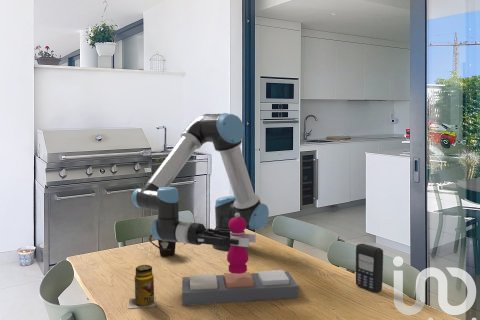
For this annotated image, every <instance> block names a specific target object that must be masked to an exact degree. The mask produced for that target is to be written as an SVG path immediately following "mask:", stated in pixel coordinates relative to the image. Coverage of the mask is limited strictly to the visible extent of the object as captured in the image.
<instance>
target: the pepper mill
mask: <svg viewBox="0 0 480 320" xmlns="http://www.w3.org/2000/svg"><path fill="white" fill-rule="evenodd" d="M229 229H230V230H231V231H230V236H232V237H240V238H244V236H245V233H246V232H245V230H246V229H247V228H246V221H245V220H244V219H243V218H241V217H240V214H239V213H235V217H234V218H232V219H231V220H230V221H229ZM227 251H228V252H227V254H226V261H227V262H228V264H229V265H228V273H234V274H241V273H245V272H248V265H247V263H248V262H249V255H248V254H249V253H248V251H247V249H246V247H242V246H235V245H231V246H230V249H229V250H227Z"/></svg>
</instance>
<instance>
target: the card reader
mask: <svg viewBox="0 0 480 320" xmlns="http://www.w3.org/2000/svg"><path fill="white" fill-rule="evenodd" d="M383 271H384V250H383V249H382V248H380V247H377V246H373V245H370V244H365V243H358V244H357V245H356V246H355V284H356V285H357V287H360V288H362V289H365V290H368V291H369V292H370V291H371V292H373V293H380V292H382V290H383V277H384V273H383Z"/></svg>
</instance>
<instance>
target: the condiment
mask: <svg viewBox="0 0 480 320" xmlns="http://www.w3.org/2000/svg"><path fill="white" fill-rule="evenodd" d="M154 278H155V277H154V274H153V266H152V265H149V264H141V265H137V266H136V267H135V275H134V297H133V298H128V309H139V308H148V307H156V305H157V303H156V296H155V280H154Z"/></svg>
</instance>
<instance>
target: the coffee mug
mask: <svg viewBox="0 0 480 320" xmlns="http://www.w3.org/2000/svg"><path fill="white" fill-rule="evenodd" d="M151 238H153V236H152V234H151V235H150V236H149V237H148V240H149V242H150V243H151V244H152V245H153V246H155V247H156V248H157V249H158V250H159V256H160V257H161V258H162V257H163V258H168V257H174V256H176V245H177V242H171V241H163V240H159V239H157V244H158V245H157V244H156V243H154V242H153V241H152V239H151Z"/></svg>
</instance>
